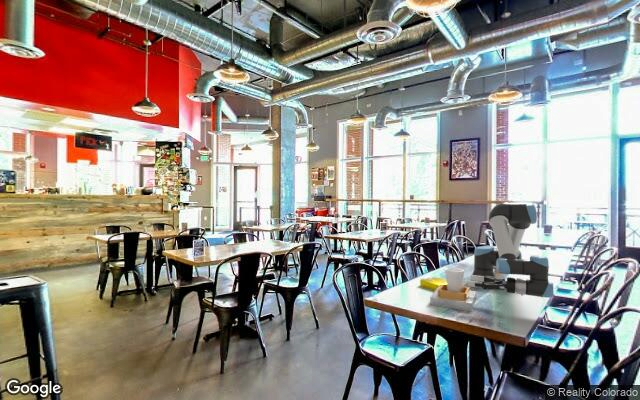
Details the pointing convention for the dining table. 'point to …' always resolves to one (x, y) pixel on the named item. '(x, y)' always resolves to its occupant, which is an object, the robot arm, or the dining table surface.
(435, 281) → the element tile
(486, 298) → the dining table surface
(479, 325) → the dining table surface
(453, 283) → the foam cup
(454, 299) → the wooden box on base
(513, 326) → the dining table surface
